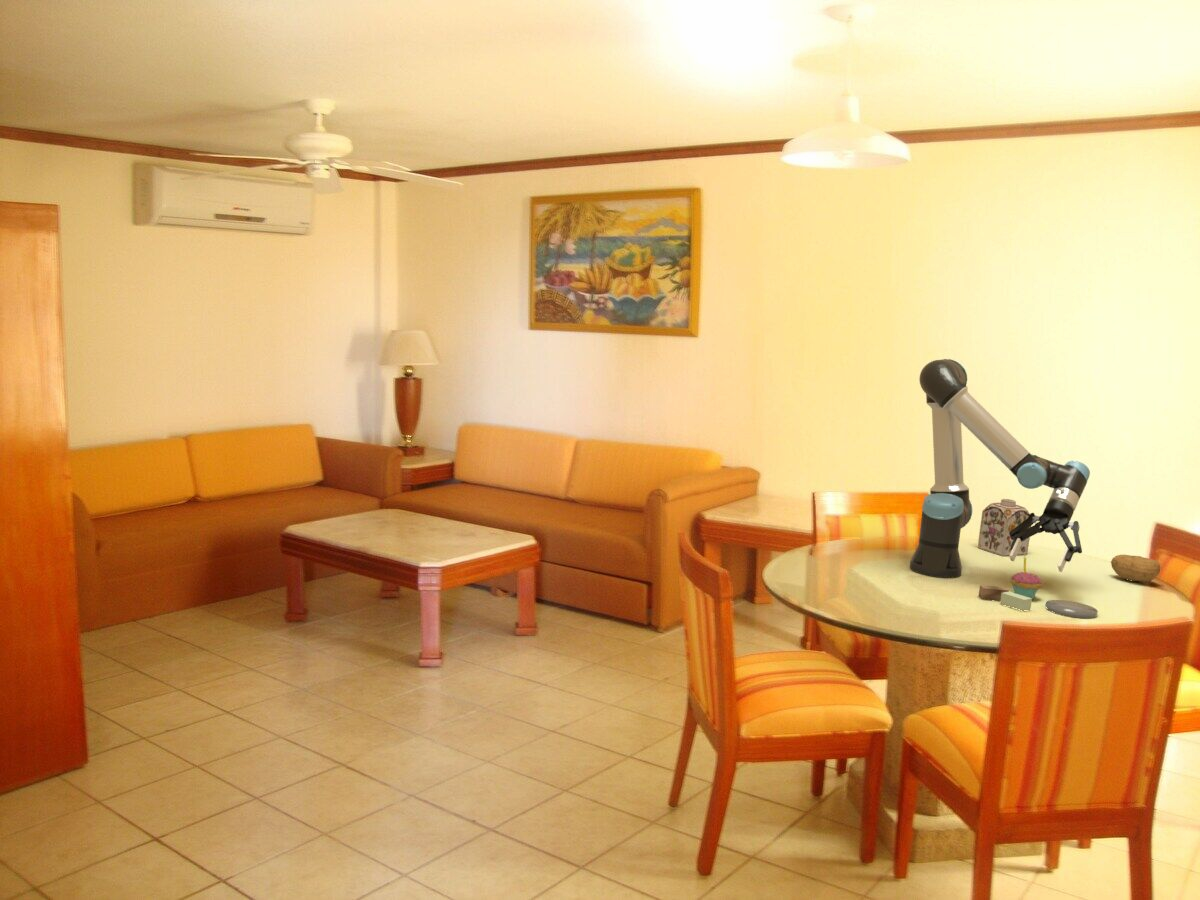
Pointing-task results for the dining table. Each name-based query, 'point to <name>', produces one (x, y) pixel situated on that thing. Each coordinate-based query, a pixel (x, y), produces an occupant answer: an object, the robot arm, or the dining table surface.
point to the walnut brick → (991, 592)
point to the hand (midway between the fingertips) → (1035, 563)
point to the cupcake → (1026, 583)
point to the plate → (1071, 609)
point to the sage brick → (1016, 601)
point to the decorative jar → (1001, 527)
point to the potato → (1135, 568)
